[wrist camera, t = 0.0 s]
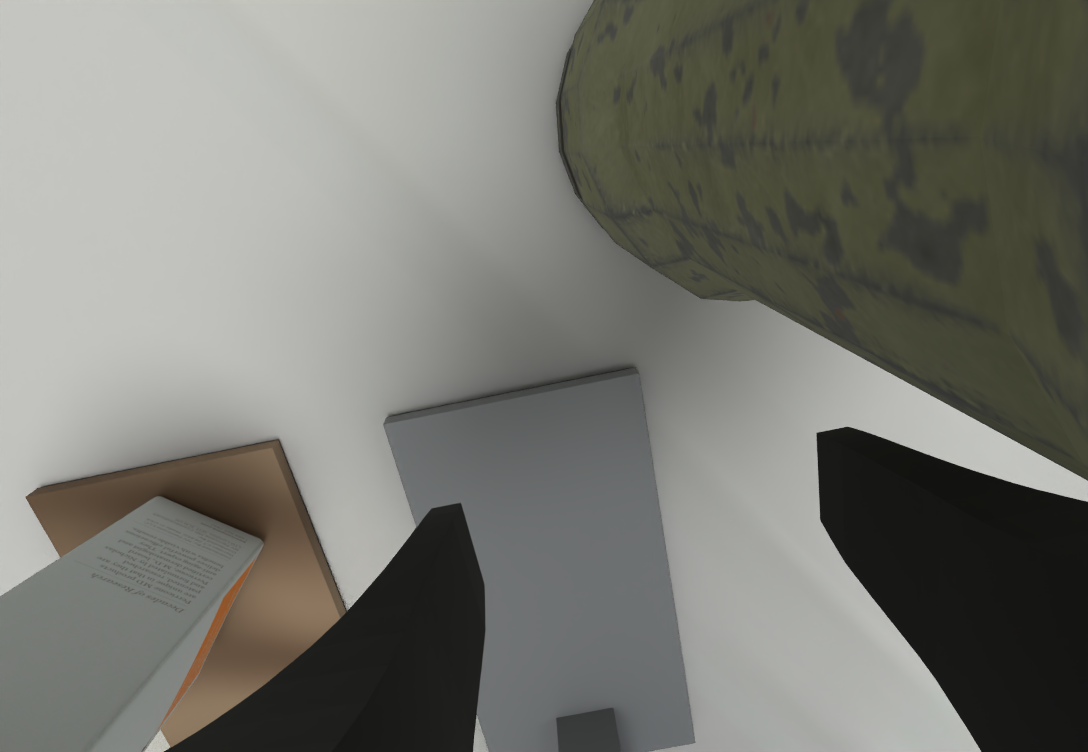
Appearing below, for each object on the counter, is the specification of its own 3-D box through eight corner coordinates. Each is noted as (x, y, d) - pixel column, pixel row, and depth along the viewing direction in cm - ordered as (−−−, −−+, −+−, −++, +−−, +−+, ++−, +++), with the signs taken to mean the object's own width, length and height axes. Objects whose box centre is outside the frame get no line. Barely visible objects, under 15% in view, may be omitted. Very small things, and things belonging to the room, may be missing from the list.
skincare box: (201, 678, 23) (-77, 1071, 12) (87, 634, 23) (-332, 1003, 11) (272, 536, 23) (60, 793, 11) (159, 487, 22) (-195, 705, 11)
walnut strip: (413, 782, 29) (395, 895, 25) (224, 816, 29) (174, 934, 25) (278, 440, 22) (222, 512, 18) (37, 488, 23) (-74, 570, 18)
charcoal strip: (691, 730, 29) (723, 836, 24) (497, 766, 29) (495, 876, 25) (635, 367, 22) (665, 423, 18) (386, 417, 22) (356, 484, 18)
